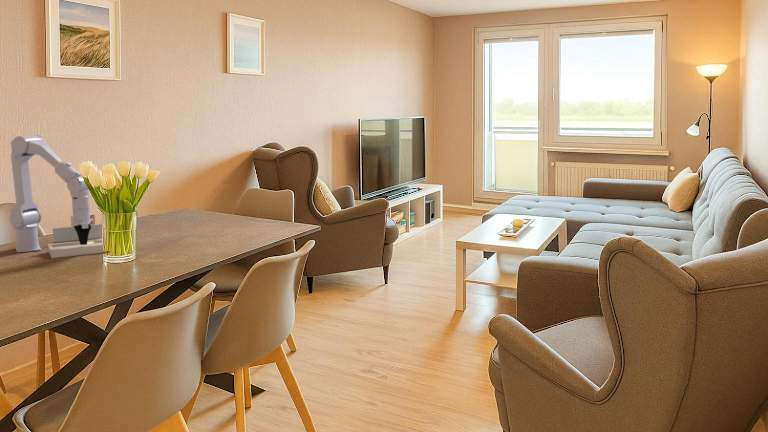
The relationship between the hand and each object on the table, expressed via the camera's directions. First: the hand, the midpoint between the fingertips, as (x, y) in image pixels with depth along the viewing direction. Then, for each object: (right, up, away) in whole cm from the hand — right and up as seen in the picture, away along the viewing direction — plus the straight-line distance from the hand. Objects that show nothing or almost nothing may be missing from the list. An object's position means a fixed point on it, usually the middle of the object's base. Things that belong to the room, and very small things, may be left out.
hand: (83, 244), depth 238 cm
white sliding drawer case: (-4, -3, +4) cm, 7 cm away
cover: (-6, +4, +7) cm, 10 cm away
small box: (-12, 0, +26) cm, 28 cm away
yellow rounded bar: (-4, -1, +6) cm, 7 cm away
